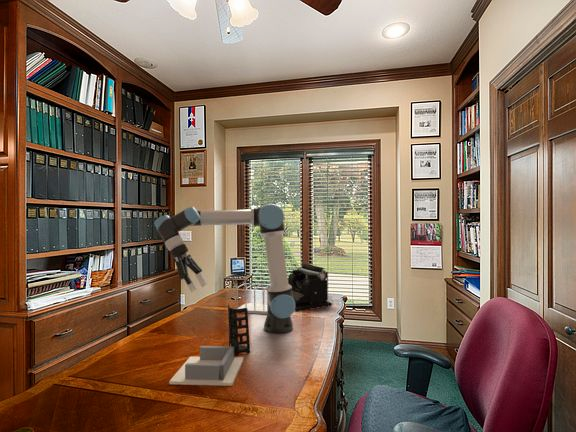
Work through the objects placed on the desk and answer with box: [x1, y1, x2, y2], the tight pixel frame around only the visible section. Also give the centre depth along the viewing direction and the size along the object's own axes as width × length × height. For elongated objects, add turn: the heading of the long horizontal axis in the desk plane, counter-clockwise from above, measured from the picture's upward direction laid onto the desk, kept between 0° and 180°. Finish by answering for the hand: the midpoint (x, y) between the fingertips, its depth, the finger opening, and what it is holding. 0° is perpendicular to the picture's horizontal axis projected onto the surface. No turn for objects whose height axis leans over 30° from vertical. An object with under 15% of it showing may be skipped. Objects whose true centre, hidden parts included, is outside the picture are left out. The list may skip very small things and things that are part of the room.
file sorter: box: [236, 282, 270, 315], centre depth 200 cm, size 25×17×16 cm
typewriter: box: [287, 263, 333, 312], centre depth 217 cm, size 31×27×25 cm
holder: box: [227, 304, 251, 355], centre depth 136 cm, size 11×8×20 cm
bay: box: [168, 345, 245, 387], centre depth 119 cm, size 22×20×6 cm
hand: (199, 287), depth 142 cm, fingers open, 13 cm apart
